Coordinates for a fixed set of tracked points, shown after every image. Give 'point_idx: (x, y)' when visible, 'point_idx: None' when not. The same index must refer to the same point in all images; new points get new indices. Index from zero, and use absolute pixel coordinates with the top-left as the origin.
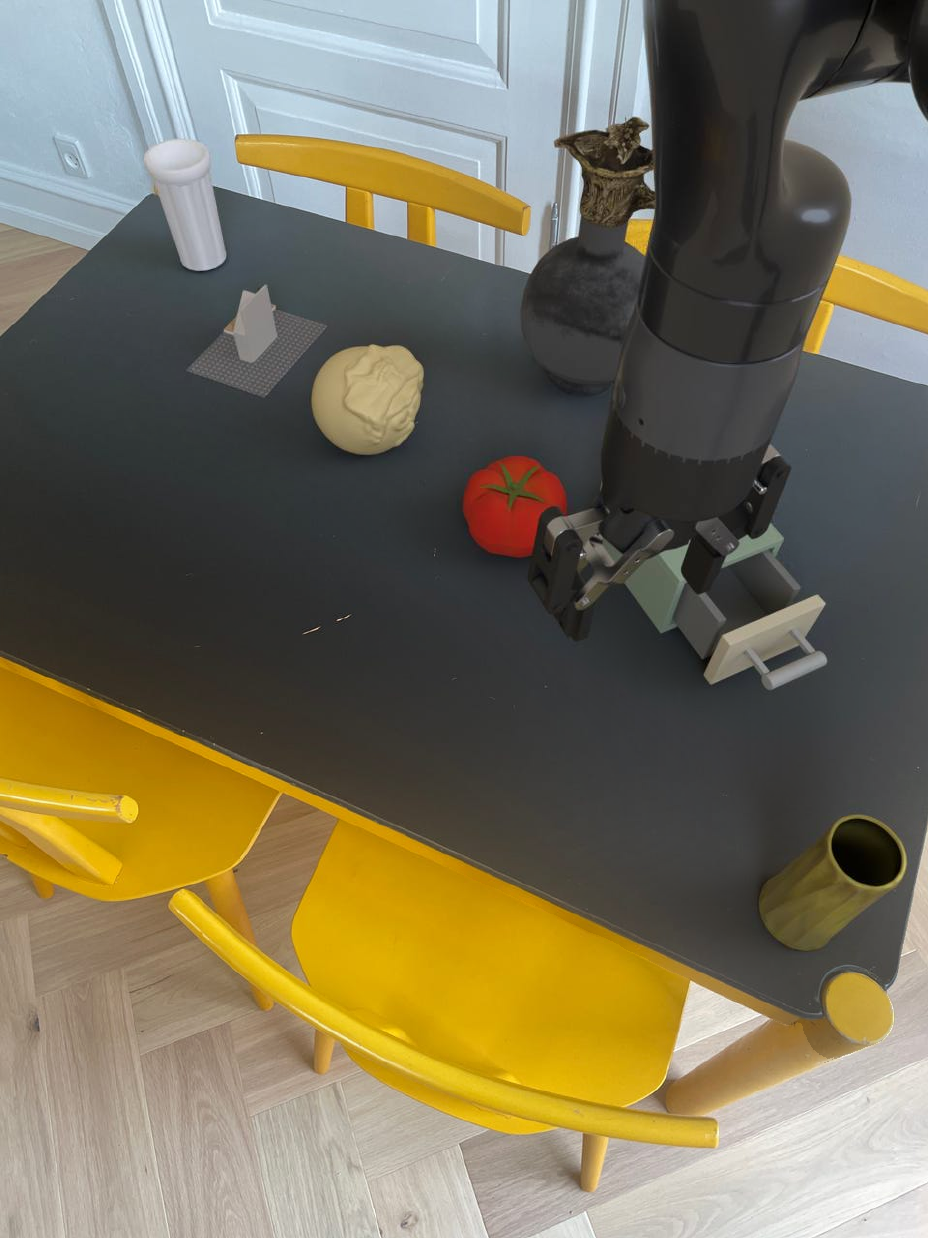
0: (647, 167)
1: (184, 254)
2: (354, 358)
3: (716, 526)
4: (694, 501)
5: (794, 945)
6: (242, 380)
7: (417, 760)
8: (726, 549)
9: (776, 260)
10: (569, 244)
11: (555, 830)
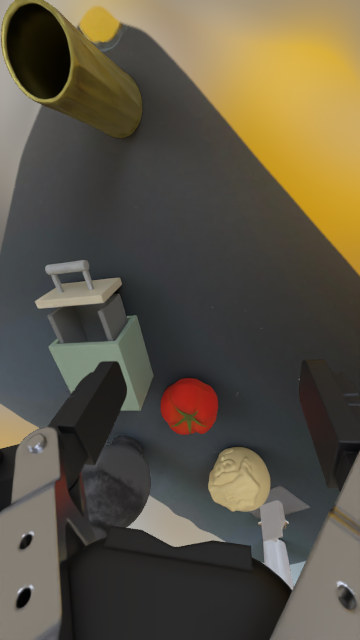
0: None
1: (285, 551)
2: (245, 508)
3: (4, 632)
4: None
5: (127, 74)
6: (286, 495)
7: (308, 288)
8: (43, 444)
9: None
10: None
11: (248, 217)
